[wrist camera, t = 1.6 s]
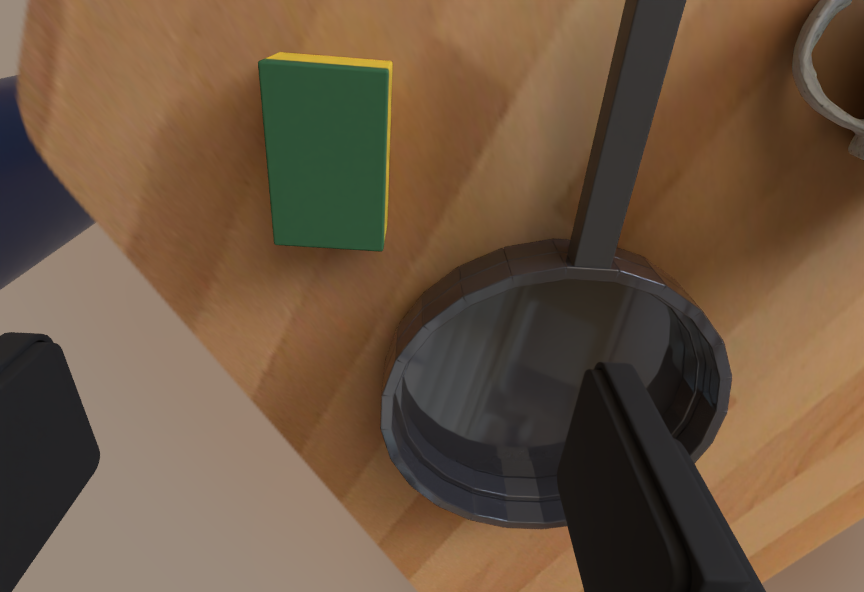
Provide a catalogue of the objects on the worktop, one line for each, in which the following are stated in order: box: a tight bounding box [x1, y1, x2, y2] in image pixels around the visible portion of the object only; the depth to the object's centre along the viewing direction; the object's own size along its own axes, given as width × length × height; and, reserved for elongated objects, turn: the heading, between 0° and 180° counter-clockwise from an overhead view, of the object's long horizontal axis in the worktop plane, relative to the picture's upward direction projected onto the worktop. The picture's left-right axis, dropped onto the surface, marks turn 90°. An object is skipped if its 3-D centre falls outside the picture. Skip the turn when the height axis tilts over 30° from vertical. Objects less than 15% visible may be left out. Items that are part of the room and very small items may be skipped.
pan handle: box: [567, 0, 686, 269], centre depth 19 cm, size 2×11×1 cm, turn 176°
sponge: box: [258, 52, 393, 251], centre depth 21 cm, size 4×7×3 cm, turn 176°
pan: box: [380, 239, 732, 529], centre depth 27 cm, size 17×17×4 cm
